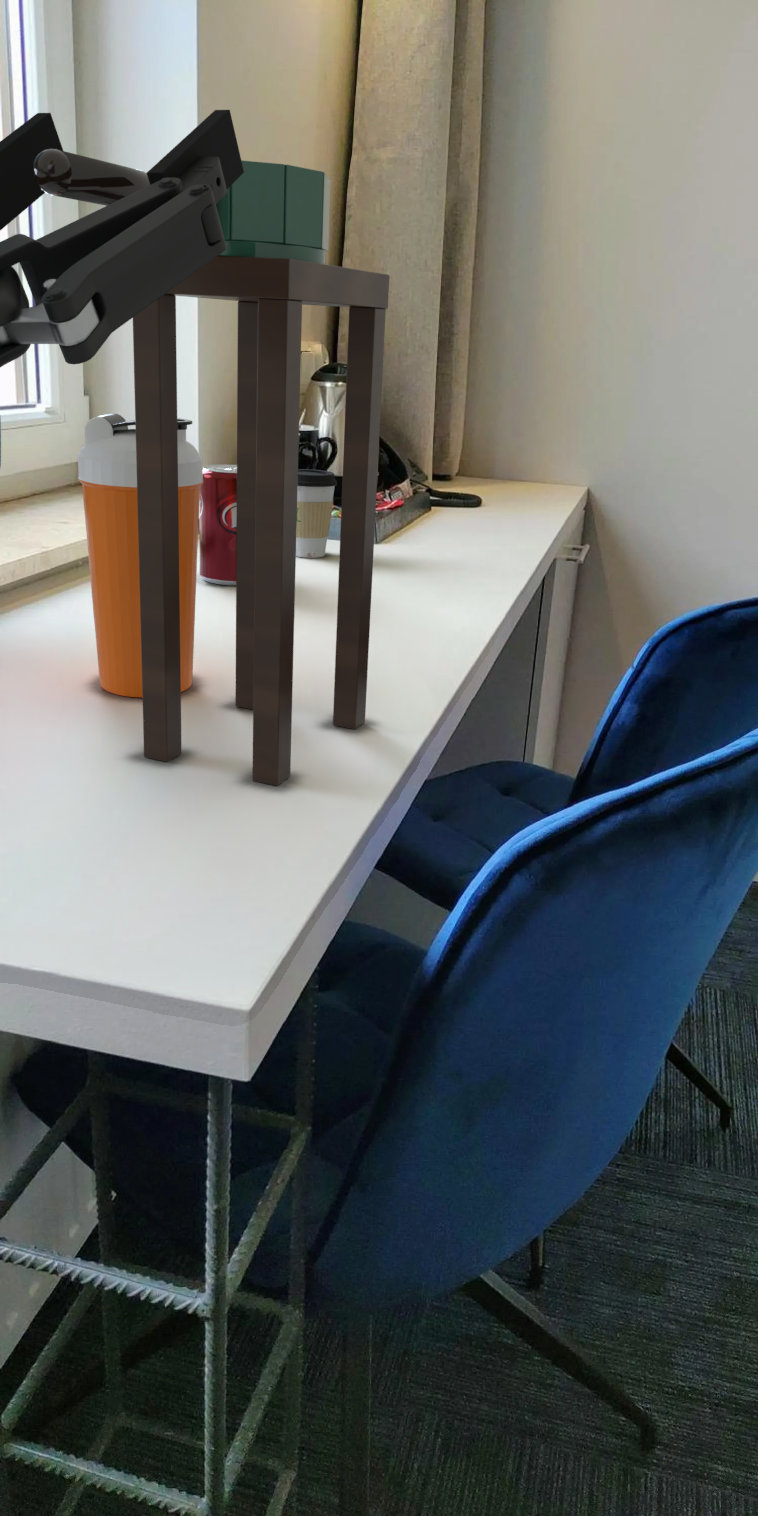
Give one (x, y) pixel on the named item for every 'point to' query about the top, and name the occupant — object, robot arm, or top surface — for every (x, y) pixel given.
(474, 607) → the top surface
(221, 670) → the top surface
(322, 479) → the coffee cup
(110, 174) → the green faceted container
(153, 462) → the tall wooden stool
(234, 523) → the soda can
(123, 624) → the shaker bottle
